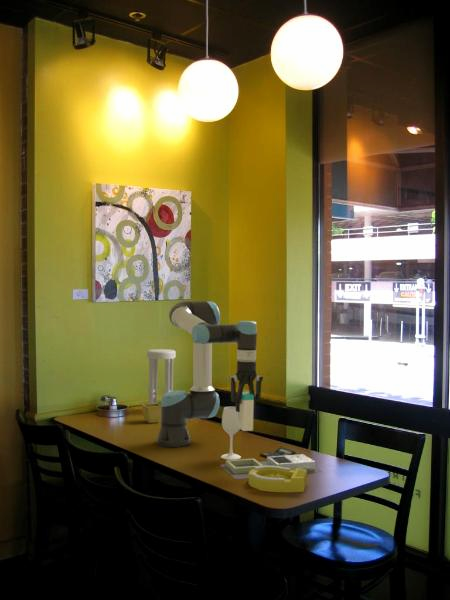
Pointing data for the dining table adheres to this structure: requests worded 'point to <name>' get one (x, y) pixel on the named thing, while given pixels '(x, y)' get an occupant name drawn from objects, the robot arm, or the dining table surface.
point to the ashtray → (278, 479)
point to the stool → (153, 371)
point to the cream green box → (246, 412)
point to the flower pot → (152, 412)
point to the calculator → (278, 452)
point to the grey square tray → (233, 463)
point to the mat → (246, 475)
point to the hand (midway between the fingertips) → (245, 419)
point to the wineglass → (230, 429)
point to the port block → (292, 462)
